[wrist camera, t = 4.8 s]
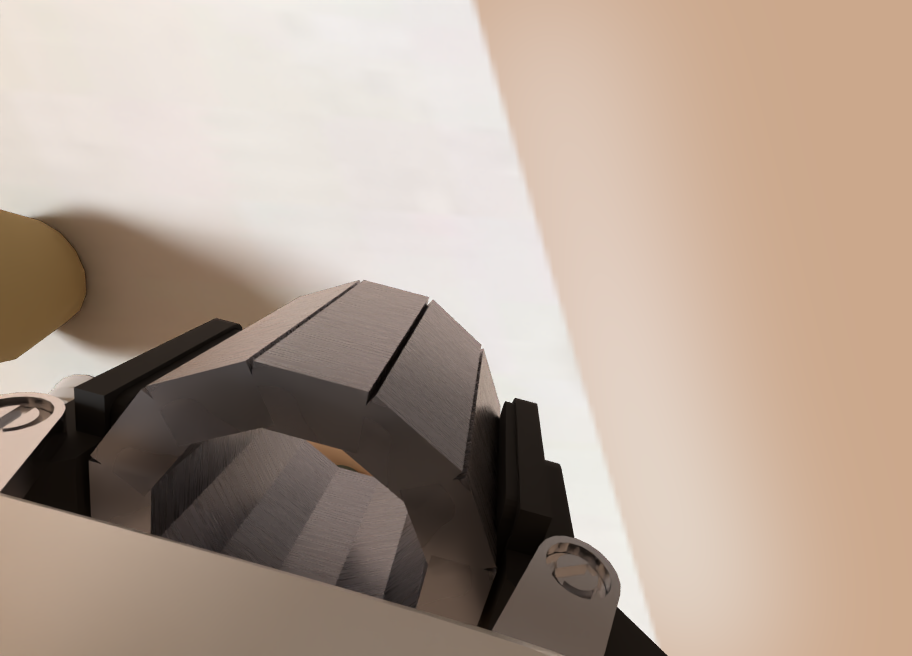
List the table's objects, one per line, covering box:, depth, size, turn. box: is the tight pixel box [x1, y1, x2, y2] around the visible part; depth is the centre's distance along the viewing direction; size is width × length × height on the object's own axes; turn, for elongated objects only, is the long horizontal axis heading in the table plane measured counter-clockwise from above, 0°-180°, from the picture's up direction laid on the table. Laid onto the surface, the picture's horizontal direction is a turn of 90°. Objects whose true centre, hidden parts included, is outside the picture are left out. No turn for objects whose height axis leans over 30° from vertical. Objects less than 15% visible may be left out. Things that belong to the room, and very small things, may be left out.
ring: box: [89, 280, 500, 626], centre depth 9 cm, size 6×6×5 cm
